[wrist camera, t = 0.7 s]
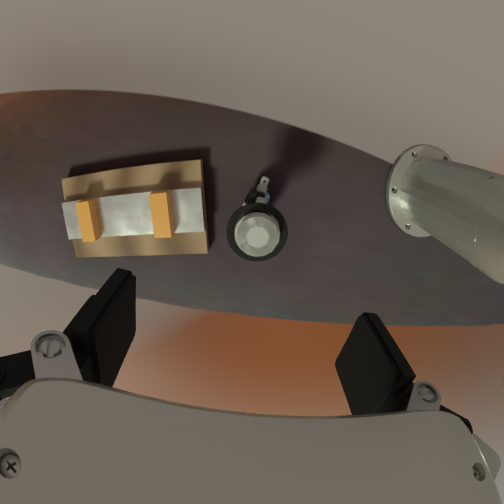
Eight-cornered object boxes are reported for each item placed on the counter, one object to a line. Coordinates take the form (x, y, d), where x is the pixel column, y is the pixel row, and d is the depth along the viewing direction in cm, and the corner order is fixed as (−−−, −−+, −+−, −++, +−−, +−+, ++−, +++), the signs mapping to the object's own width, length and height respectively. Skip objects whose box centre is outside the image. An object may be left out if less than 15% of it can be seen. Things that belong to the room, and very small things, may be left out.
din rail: (202, 186, 30) (200, 187, 29) (205, 229, 32) (204, 231, 31) (64, 201, 30) (61, 203, 29) (71, 237, 32) (68, 239, 31)
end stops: (169, 189, 29) (166, 192, 28) (174, 232, 31) (171, 237, 30) (81, 199, 29) (75, 202, 28) (88, 237, 31) (83, 242, 30)
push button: (243, 169, 31) (241, 182, 22) (287, 183, 32) (304, 203, 22) (226, 222, 33) (218, 256, 24) (268, 235, 34) (276, 273, 25)
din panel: (202, 158, 30) (200, 159, 29) (209, 248, 35) (207, 253, 33) (67, 177, 30) (61, 179, 29) (81, 253, 35) (76, 257, 33)
